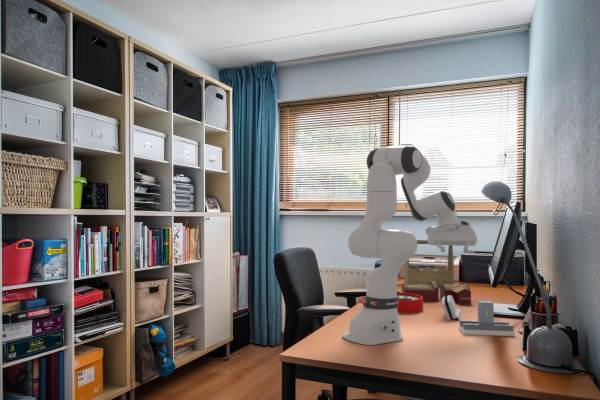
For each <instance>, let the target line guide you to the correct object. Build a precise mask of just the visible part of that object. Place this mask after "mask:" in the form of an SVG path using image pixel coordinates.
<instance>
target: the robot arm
mask: <svg viewBox="0 0 600 400" xmlns="http://www.w3.org/2000/svg"><path fill="white" fill-rule="evenodd" d="M366 166H367V169H368V174H367V180H366V181H367V182H366V206H365V214H364V217H363V219H362V221H361V223H360V224H359V226H358V227H357V228H355V229H354V230H353V231H352V232H351V233H350V234H349V236H348V240H347V246H348V250H349V251H350V253H351V254H352V255H353V256H357V257H360V258H365V259H380V260H382V261H381V265H380V266H379V267H378V266H377V267H376V268H374V269H372V270H370V271H369V272H368V274H367V275H366V295H365V297H364V298H363V297H359V298H358V303H359V304H362V305H363V306H362V308H360V309H359V311H358V312H357V313H356V314H355V315H354V316H353V317H352V318H351V319H350V322H349V328H348V331H347V332H344V333H343V334H342V338H344V340H347V341H349V342H353V343H356V344H361V345H365V346H373V345H374V346H375V345H381V344H388V343H393V342H400V341H403V340H404V337H403V335H402V332H401V320H400V314H399V312H398V311H397V307H398V297H397V291H398V281H399V280H398V278H399V274H400V272H401V269H402V268H403V266H405V262H406V261H407V260H409V261H410V259H411V258H413V257H414V256H415V254H416V252H417V250H418V244H417V240H418V239H417V237H416V236H415V234H413V232H412V231H407V230H403V229H384V228H382V224H383V223H384V222H386V221H387V220H390V219H391V218H392V217H394V216H395V215H396V213H397V209H398V207H397V206H398V197H397V195H398V193H397V192H398V189H397V178H396V176H399V175H403V176H402V177H401V179H400V183H401V188H402V191H403V194H404V197H405V199H406V202H407V203H408V207H409V209H410V213H411V214H410V215H411V216H412V217H413V219H414V220H416V221H419V222H423V221H425V220H428V219H429V218H432V217H436V219H437V226H429V227H427V228H426V229H425V234H426V235H427V240H428V244H427V245H429V246H436V247H437V248H438V249H439V250H440V253H445V251H446V247H445V246H449V245H453V246H457V247H458V246H459V247H461V246H462V247H463V246H464V247H463V254H464V253H467V254H468V253H469V247H471V246H472V247H473V246H476V244H477V243H478V236H477V233H476V232H475V230H474V229H473V228H472V224H471V222H469V221H465V220H461V219H459V218H458V217H457V216H458V215H457V211H456V204H455V201H454V199H453V196H452V194H451V193H450V192H448V191H446V190H444V189H443V190H442V189H440V190H438V191H435V192H432V193H430V194H427V195H425V196H422V197H419V198H417V196H416V194H415V190H416V189H417V188H419V187H420V186H421V185H423V184H424V183H425V182H426V181H427V180H428V178H429V177H430V174H431V171H432V170H431V165H430V163H429V161H428V159H427V157H426V155H424V153H423V152H422V150H420V148H419V147H418V146H417V145H415V144H414V143H413V142H408V141H407V142H403V143H400V144H399V145H398V146H396V145H395V146H394V145H392V146H391V145H389V146H386V147H385V146H384V147H382V148H380V147H379V148H374V149H373V150H371V151H369V153H368V155H367V157H366Z"/></svg>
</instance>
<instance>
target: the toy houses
mask: <svg viewBox="0 0 600 400" xmlns="http://www.w3.org/2000/svg"><path fill="white" fill-rule="evenodd" d="M433 282H434V281H430V282H429V283H428V284H427V285H426V284H425V285H426V286H425V285H422V284H418V285H417V284H416V285H415V286H414V285H413V286H411V285H412V284H411V285H410V284H409V285H408V284H407V285H408V286H407V285H406V284H405V283H403V284H402V285H401V291H399V290H397V293H409V294H416V295H420V296H422V297H423V302H439V301H440V300H439V299H441V300H442V298H443V297H445V296H446V297H447V296H448V295H451V296H452V297H453V299H454V302H455V304H456V305H460V306H462V305H465V306H470V305H472V294H473V292H472V291H471V288H470V287H469V285H468V284H466V283H464V284H462V283H461V284H460V283H458V284H457V283H456V284H455V283H454V284H453V285H452V284H451V285H452V286H453V287H452V286H451V285H450V286H451V287H450V286H449V284H448V286H449V287H448V286H446V285H447V284H446V285H445V284H444V285H445V286H444V285H443V284H442V285H441V286H438V284H437V282H436V281H435V282H434V283H433Z"/></svg>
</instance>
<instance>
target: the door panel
mask: <svg viewBox="0 0 600 400" xmlns="http://www.w3.org/2000/svg"><path fill="white" fill-rule="evenodd" d="M494 313H495V312H494V302H493V301H487V300H486V301H485V300H484V301H483V300H478V301H477V321H478V324H494V322H495V319H494V315H495V314H494Z"/></svg>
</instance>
